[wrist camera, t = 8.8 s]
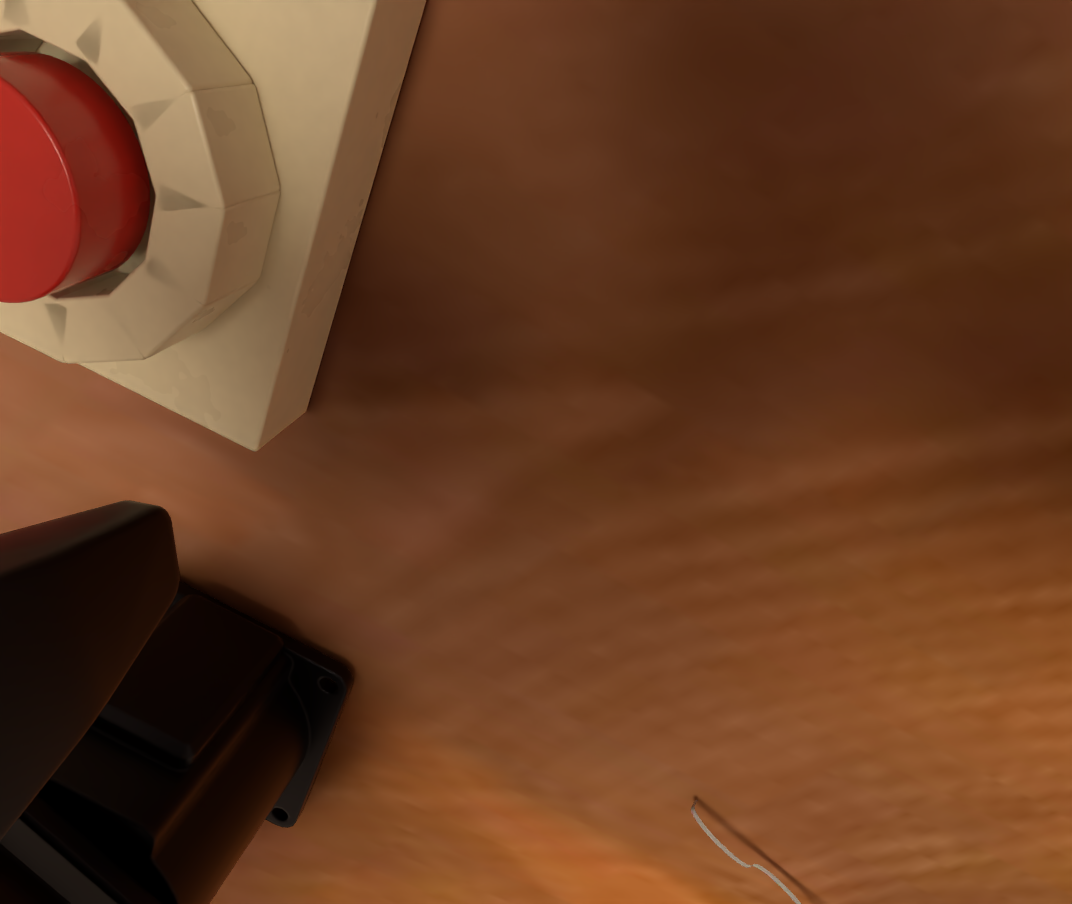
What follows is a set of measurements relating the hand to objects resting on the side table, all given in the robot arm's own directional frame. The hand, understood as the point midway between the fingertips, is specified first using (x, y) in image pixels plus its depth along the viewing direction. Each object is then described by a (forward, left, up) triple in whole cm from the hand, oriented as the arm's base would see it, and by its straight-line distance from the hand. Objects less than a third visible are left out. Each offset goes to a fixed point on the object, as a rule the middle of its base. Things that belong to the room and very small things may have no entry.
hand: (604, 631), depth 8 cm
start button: (-1, +11, -6) cm, 13 cm away
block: (-1, +11, -10) cm, 15 cm away
